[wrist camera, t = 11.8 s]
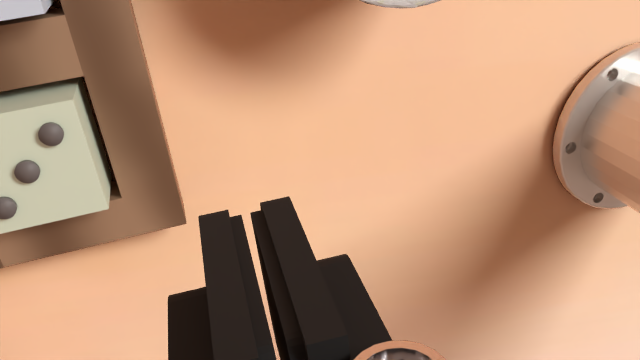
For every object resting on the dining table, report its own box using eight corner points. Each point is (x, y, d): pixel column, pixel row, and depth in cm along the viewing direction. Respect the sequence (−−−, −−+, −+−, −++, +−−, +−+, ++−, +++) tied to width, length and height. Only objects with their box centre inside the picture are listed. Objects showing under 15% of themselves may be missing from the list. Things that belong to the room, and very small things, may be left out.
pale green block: (80, 74, 32) (72, 101, 28) (111, 173, 35) (108, 211, 30) (-40, 97, 31) (-67, 128, 27) (2, 197, 33) (-16, 240, 29)
